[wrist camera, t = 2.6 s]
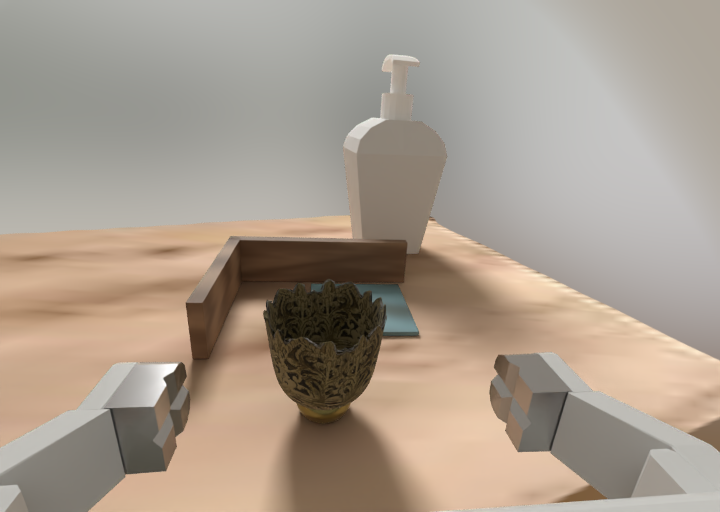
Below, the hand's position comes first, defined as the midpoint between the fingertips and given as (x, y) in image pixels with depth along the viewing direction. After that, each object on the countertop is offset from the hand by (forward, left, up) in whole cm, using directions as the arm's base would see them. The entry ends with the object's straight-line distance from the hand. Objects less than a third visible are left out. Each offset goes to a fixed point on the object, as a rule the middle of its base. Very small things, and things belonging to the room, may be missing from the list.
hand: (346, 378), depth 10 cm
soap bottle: (-32, +34, -13) cm, 49 cm away
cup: (-10, +7, -13) cm, 18 cm away
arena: (-21, +15, -13) cm, 29 cm away
